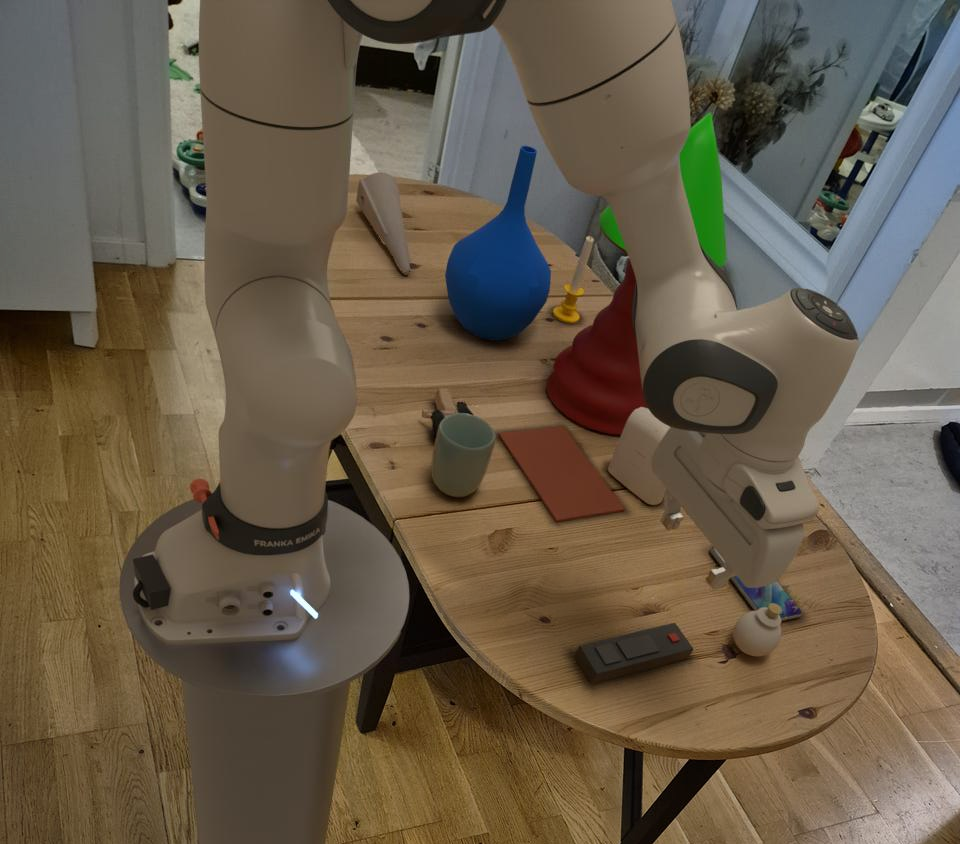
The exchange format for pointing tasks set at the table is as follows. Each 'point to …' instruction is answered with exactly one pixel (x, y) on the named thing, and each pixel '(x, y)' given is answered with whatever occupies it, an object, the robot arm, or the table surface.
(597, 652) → the remote
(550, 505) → the mat
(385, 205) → the grey long tapered piece
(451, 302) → the vase
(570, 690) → the table surface
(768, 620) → the ornament
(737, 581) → the smartphone
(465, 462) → the cup
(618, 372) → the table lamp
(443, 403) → the toy figure
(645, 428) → the photo printer
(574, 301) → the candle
